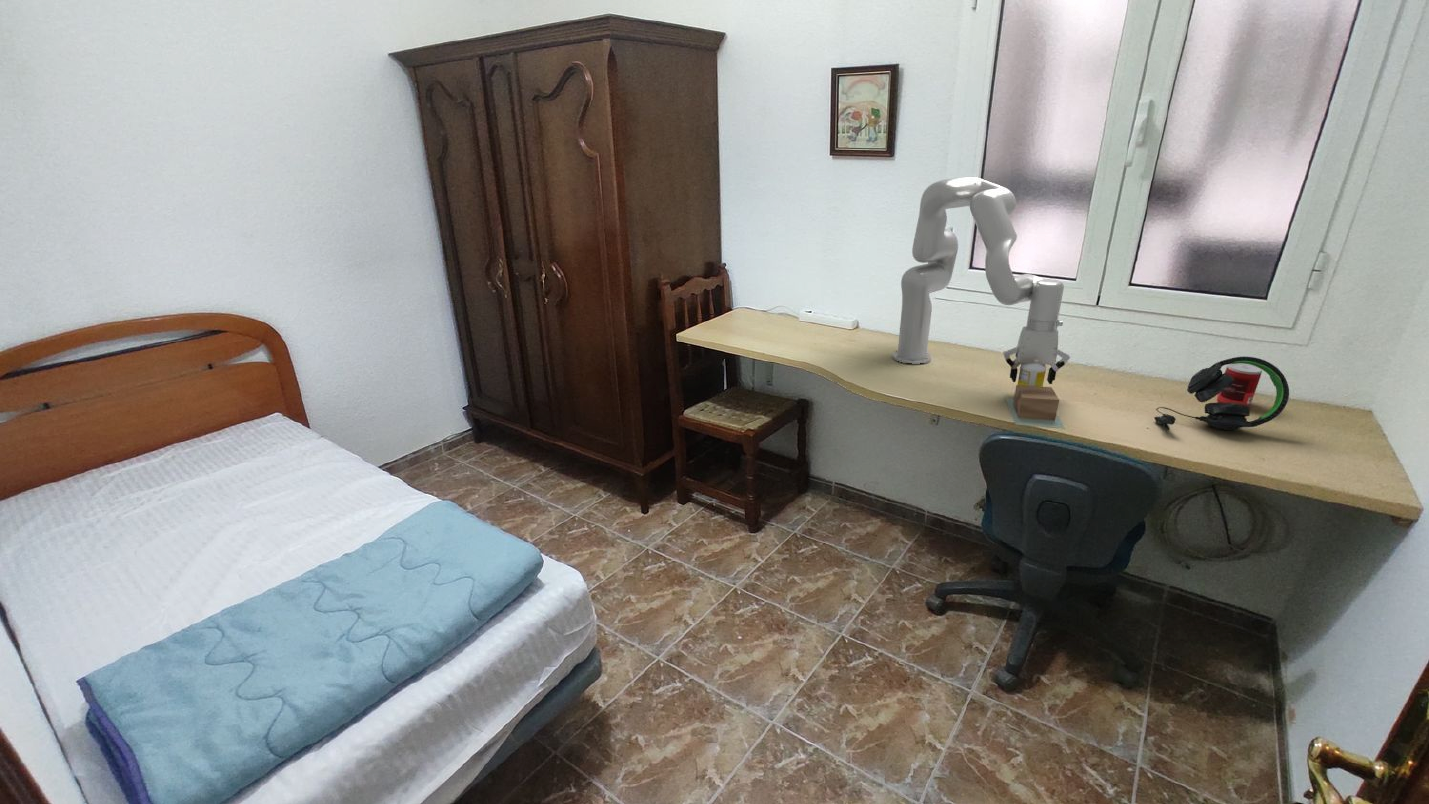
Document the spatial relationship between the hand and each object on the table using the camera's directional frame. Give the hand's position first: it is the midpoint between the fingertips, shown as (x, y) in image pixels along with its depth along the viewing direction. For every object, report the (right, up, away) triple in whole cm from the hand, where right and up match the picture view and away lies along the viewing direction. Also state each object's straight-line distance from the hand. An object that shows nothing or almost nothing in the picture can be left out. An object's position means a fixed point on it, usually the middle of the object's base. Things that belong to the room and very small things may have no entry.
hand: (1031, 381), depth 186 cm
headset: (+37, -13, -20) cm, 44 cm away
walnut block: (-4, -9, -9) cm, 14 cm away
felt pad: (-4, -9, -9) cm, 14 cm away
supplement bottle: (0, -4, +2) cm, 5 cm away
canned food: (+54, -7, -6) cm, 54 cm away
